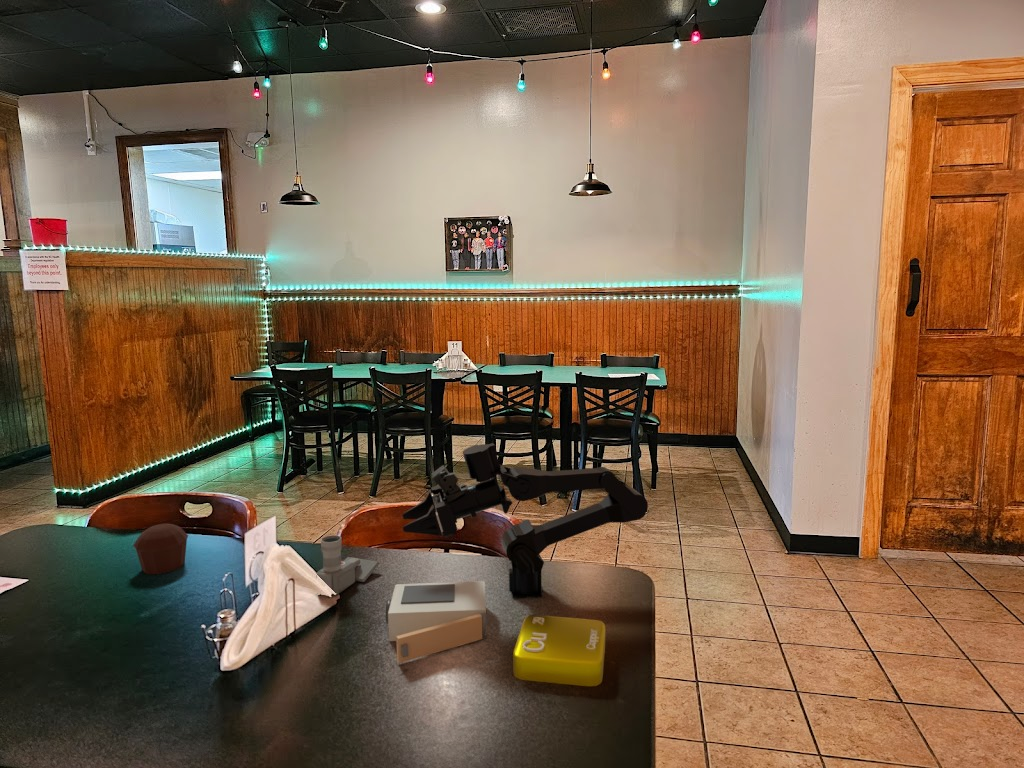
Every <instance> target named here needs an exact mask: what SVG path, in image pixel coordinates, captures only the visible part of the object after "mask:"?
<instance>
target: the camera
mask: <svg viewBox="0 0 1024 768" xmlns="http://www.w3.org/2000/svg"><path fill="white" fill-rule="evenodd" d="M342 546H343V544H342V536H341V535H338V534H337V535H335V534H331V535H326V536H323V537H321V539H320V551H321V553H322V565H323V567H322V568H321V569H320V570H318V571H317V572H316V574H317V575H318V576H319V577H320V578H321V579H322V580H323V581H324V582H325V583H326V584H327V585H328V586H329V587H330V588H331V589H332V590H333V591H334V592H335V593H337V595H338V594H340V593H342V592H343V591H345V590H347V588H350V586H352V585H353V584H354V583H356V582H361V583H365V581H366V580H368V578H369V577H370V576H371V574H372V573H373V572H374V571H376V568H377V567H378V566H379V565H380V564H381V563H380V562H379V561H376V560H370V559H363V558H357V557H351V556H347V557H346V558H345V559H344V560H342V556H341V554H342V553H341V552H342V551H341V550H343V549H342V548H343V547H342ZM317 575H316V576H317Z"/></svg>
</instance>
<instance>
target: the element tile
mask: <svg viewBox="0 0 1024 768" xmlns="http://www.w3.org/2000/svg"><path fill="white" fill-rule="evenodd" d="M517 636H518V637H517V640H516V643H515V646H514V648H513V651H512V653H513V654H512V660H513V661H512V662H513V663H512V664H513V665H512V667H513V673H512V674H513V675H514V677H516V679H519V680H522V681H531V682H539V683H540V682H541V683H549V684H550V683H551V684H560V685H570V686H582V687H597V686H598V685H601V683H602V682H603V676H604V665H605V653H606V624H605V623H604V622H603V621H602V620H600V619H599V620H597V619H588V618H577V617H563V616H554V615H539V614H530V615H527V616H526V617H525V618H524V619H523V622H522V624H521V628H520V631H519V634H518V635H517Z"/></svg>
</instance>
